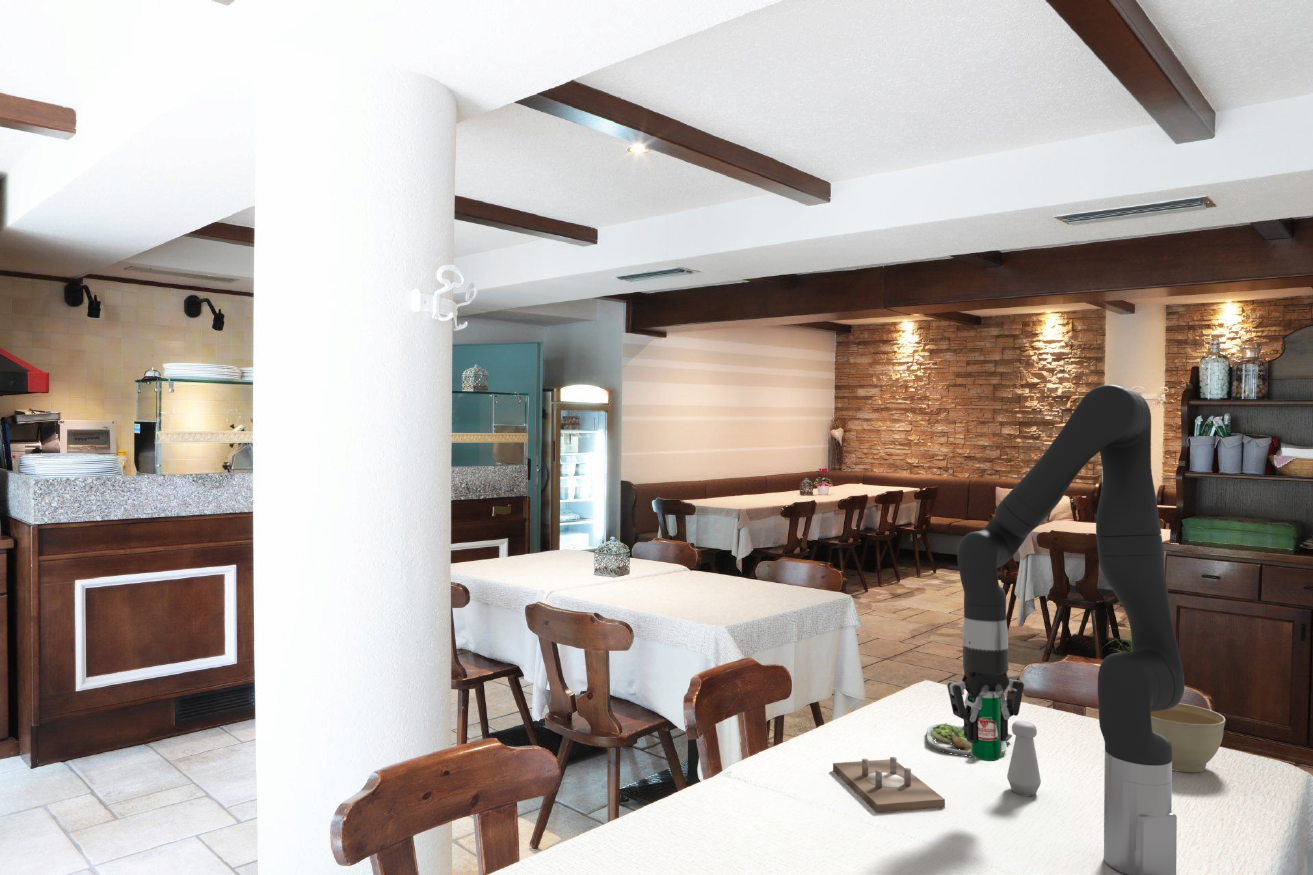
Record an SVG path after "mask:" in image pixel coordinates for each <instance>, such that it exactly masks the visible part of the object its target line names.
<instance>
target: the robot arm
mask: <svg viewBox="0 0 1313 875" xmlns="http://www.w3.org/2000/svg"><path fill="white" fill-rule="evenodd" d="M1098 453H1099V456H1100V461H1101V467H1102V468H1101V469H1102V480H1101V481H1102V482H1101V483H1102V484H1101V489H1100V495H1099V500H1098V504H1097V505H1098V506H1097V511H1096V520H1095V534H1096V536H1095V537H1096V545H1097V546H1096V547H1097V555H1098V563H1099V567H1100V568H1099V569H1100V570H1101V572H1102V575H1103V577H1104V579H1105V580H1106V582H1107V583H1108V586H1109V587H1110V588H1111V590H1112V591H1113V594H1114V595H1115V597H1116V598H1117V600H1118V601H1119V603H1120V605H1121V606H1122V607H1123V609H1124V612H1125V615H1126V617H1127V620H1128V623H1129V628H1130V635H1131V648H1132V649H1131V651H1130V650H1129V651H1120V652H1115V653H1111V654H1109V655H1106V656H1105V658H1104V659H1103V660H1102V661H1101V663H1100V666H1099V669H1098V673H1097V700H1098V702H1097V704H1098V723H1099V729H1100V731H1101V732H1100V733H1101V735H1102V737H1103V741H1104V770H1103V771H1104V774H1103V775H1104V778H1103V779H1104V787H1103V788H1104V789H1103V790H1104V791H1103V794H1104V796H1103V797H1104V798H1103V800H1104V802H1103V860H1104V862H1105V863H1106V864H1107V865H1108V866H1109V867H1111V868H1112V869H1113V870H1116V871H1118V872H1120V873H1122V874H1125V875H1177V849H1178V848H1177V844H1178V843H1177V836H1178V834H1177V833H1178V832H1177V830H1178V829H1177V828H1178V824H1177V823H1178V822H1177V821H1178V820H1177V819H1178V818H1177V815H1176V814H1175V813H1173V812H1172V805H1173V802H1172V801H1173V800H1172V798H1173V796H1172V795H1173V793H1172V790H1173V788H1172V787H1173V786H1172V784H1173V783H1172V782H1173V770H1172V745H1171V742H1170V741H1169V740H1168V739H1167V738H1166V737H1164V736H1162V735H1160V734H1157V733H1155V732H1153V731H1152V723H1151V712H1152V711H1160V710H1165V709H1170V708H1173V707H1175V706H1176V705H1177V704H1178V703H1181V701H1182V699H1183V696H1184V692H1185V674H1184V670H1183V669H1184V668H1183V664H1182V659H1181V655H1180V650H1179V647H1178V641H1177V638H1176V634H1175V630H1174V625H1173V619H1172V614H1171V606H1170V598H1169V593H1168V586H1167V578H1166V570H1165V569H1166V568H1165V554H1164V552H1165V551H1164V544H1163V536H1162V529H1161V524H1160V517H1159V508H1158V501H1157V496H1156V489H1155V486H1154V479H1153V472H1152V470H1153V469H1152V414H1151V409H1150V406H1149V404H1148V402H1147V401H1146V399H1145V398H1144V397H1143V396H1142V395H1141V394H1139V393H1138V392H1136V391H1134V390H1132V389H1130V388H1126V387H1124V386H1120V385H1116V384H1104V385H1099V386H1096V387H1094V388H1091V390H1089V391H1088V392H1087V393H1085V395H1084V396H1083V397H1082V398H1081V400H1080V401H1079V402H1078V404H1077V406H1076V407H1075V409H1074V411H1073V412H1072V414H1071V415H1070V416H1069V418H1068V420H1067V421H1066V423H1065V424H1064V426H1063V427H1062V429H1061V430H1060V432H1059V433H1058V435H1057V436H1056V437H1055V438H1054V440H1053V442H1052V443H1051V444H1050V445H1049V447H1048V448H1047V449H1046V451H1045V452H1044V453H1043V455H1042V456H1041V457H1040V458H1039V459H1038V461H1037V462H1036V463H1035V464H1034V465H1033V466H1032V467H1031V469H1030V470H1029V471H1028V472H1027V473H1026V474H1025V475H1024V476H1023V478H1022V479H1021V480H1019V482H1018V483H1017V484H1016V485H1015V486H1014V487H1013V488H1012V489H1011V490H1010V491H1009V493H1007V495H1006V496H1005V497H1004V498H1003V499H1002V500H1001V501H1000V503H999V504H997V506H996V508H995V509H994V516H993V518H992V519H991V520H990V521H989V522H988V524H987V525H986V526H984V527H983V528H982V529H981V530H977V531H975V530H974V531H971V532H968V533H967V534H965V535H964V536H963V537H962V539H961V540H960V542H959V543H958V549H957V553H956V554H957V556H956V558H957V566H958V571H959V575H960V581H961V585H962V589H963V616H964V617H963V624H962V668H963V670H964V672H963V673H964V674H963V677H962V680H961V681H957V682H955V683H954V682H948V683H947V685H946V686H947V691H948V695H949V700H950V705H951V710H952V714H953V715H954V716H955V717H958V718H960V719H961V720H963V726H964V736H965V738H966V739H967V741H969V742H970V743H977V722H975V721H976V718H977V715H978V712H979V710H981V708H982V699H981V697H982V698H983V696H984V695H987V693H988V691H990V690H995V691H997V694H998V695H999V696H1000V697H1001V741H1006V738H1007V736H1008V734H1009V720H1010V718H1011V717H1013V716H1015V717H1017V716H1018V715H1019V713H1020V709H1021V704H1022V698H1023V694H1024V693H1023V692H1024V687H1025V684H1024V682H1023V681H1020V680H1017V679H1015V678H1012V679H1011V678H1009V676H1008V671H1009V630H1008V624H1007V595H1006V591H1005V589H1004V588H1003V587H1002V586H1000V583H999V575H998V568H1001V567H1002V566H1004V565H1005V564H1006V563H1008V562H1009V561H1010V560H1011V559H1012V558H1013V557H1014V555H1015V554H1016V553H1017V552H1018V550H1019V549H1020V548H1021V546H1022V545H1023V543H1024V542H1025V540H1026V539H1027V538H1028V536H1029V535H1030V534H1031V533H1032V532H1033V531H1034V530H1035V529H1036V528H1037V527H1038V526H1039V525H1040V524H1041V523H1042V522H1043V521H1045V519H1046V517H1047V516H1048V515H1050V513H1051V512H1052V511H1053V510H1054V509H1055V508H1057V505H1058V504H1059V503H1060V501H1061V500H1063V498H1064V496H1065V495H1066V493H1067V491H1068V489H1069V488H1070V486H1071V484H1072V483H1073V481H1074V479H1075V478H1076V477H1077V475H1078V473H1080V472H1081V470H1082V469H1083V468H1084V467H1085V465H1087V464H1088V462H1090V460H1091V459H1092V458H1094V457H1095V456H1096V455H1097V454H1098ZM965 690H966V692H967V693H966V696H965V699H964V695H965ZM1006 690H1007V693H1006V697H1005V694H1004V693H1005V691H1006ZM970 696H971V698H974V699H976V701H975V703H972V702H971V700H970Z"/></svg>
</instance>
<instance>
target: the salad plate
mask: <svg viewBox="0 0 1313 875" xmlns="http://www.w3.org/2000/svg"><path fill="white" fill-rule="evenodd" d="M1012 737H1013V734H1010V733H1008V736H1007V738H1006V741H1001V746H1002V755H1003V754H1004V753H1005V752H1006V751H1007V749H1008V747H1007V742H1008V741H1009V740H1011V738H1012ZM935 739H938V740H937V741H939V740H942V741H944V742H943V743H946V742H949V743H948V744H950V743H952V744H951V745H953V744H954V745H953V746H955V745H956V746H957V748H958V749H960V750H958V749H957V748H955V749H954V748H951V747H950V748H949V747H947V746H946V747H945V746H943V745H941V744H939V743H938V742H937V743H935V741H934V740H935ZM926 740H927V743H928V744H929V745H930V746H932V747H933V749H935V748H936V749H935V750H937V749H938V750H937V751H939V750H940V752H942V751H944V752H943V753H945V752H947V753H946V754H948V753H952V754H951V755H953V754H957V755H956V756H961V755H967V756H966V757H969V756H971V757H970V758H975V757H974V756H973V755H972V754H971V743H970V742H969V741H967V739H966V738H965V736H964V725H963V726H961V725H955V724H948V723H947V722H946V723H938V724H937V723H936V724H933V725H930V726H929V727H928V728H927V730H926ZM942 741H941V742H942ZM956 746H955V747H956Z"/></svg>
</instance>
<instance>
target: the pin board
mask: <svg viewBox="0 0 1313 875" xmlns="http://www.w3.org/2000/svg"><path fill="white" fill-rule="evenodd" d="M832 771H833V772H834V773H835V774H836V775H837V776H838V777H839V778H840V779H841V780H842V781H843V782H844V781H845V782H844V783H845V784H846V785H848V786H849V788H850V789H852V790H853V791H854V792H855V793H856V794H857V795H858V796H859V797H860V798H861V799H862V800H864V802H865V803H866V804H868V806H870V807H871V808H872V809H873V811H875V812H876V814H877V813H878V814H880V813H882V814H883V813H891V812H892V813H894V812H905V811H906V812H907V811H919V810H932V809H945V808H946V807H945V806H946V800H945V798H944V797H942V796H941V795H940V794H939V793H937V791H935V790H934V789H933V788H932V787H930V786H928V785H927V784H926V783H925V782H923V781H922V780H921V779H920V778H918V777H917V776H916V775H915V774H913V773H912V769H911V768H909V767H904V766H903V765H902V764H901V763H900V762H898V761H897V757H896V756H890V758H889V759H874V760H873V759H872V760H869V759H868V758H862V759H861V761H844V762H842V761H841V762H833V763H832ZM943 807H944V808H943Z"/></svg>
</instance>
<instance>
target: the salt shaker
mask: <svg viewBox="0 0 1313 875" xmlns="http://www.w3.org/2000/svg"><path fill="white" fill-rule="evenodd" d="M1011 732H1012V735H1014V736H1015V738H1014V742H1013V748H1012V752H1011V758H1010V761H1009V767H1008V770H1007V776H1006V777H1007V780H1008V784H1009V785H1010V788H1011V791H1012V792H1013V793H1015V794H1017V795H1020V796H1026V797H1032V796H1034V795H1036V794H1037V792H1038V790H1039V788H1040V786H1041V784H1042V783H1041V782H1042V779H1041V774H1040V769H1039V763H1038V757H1037V751H1036V747H1035V740H1034V738H1036V737H1037V734H1038V729H1037V726H1036V725H1035V724H1034V723H1033V722H1030V721H1026V720H1016V721H1014V722H1013V723H1012V725H1011Z"/></svg>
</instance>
